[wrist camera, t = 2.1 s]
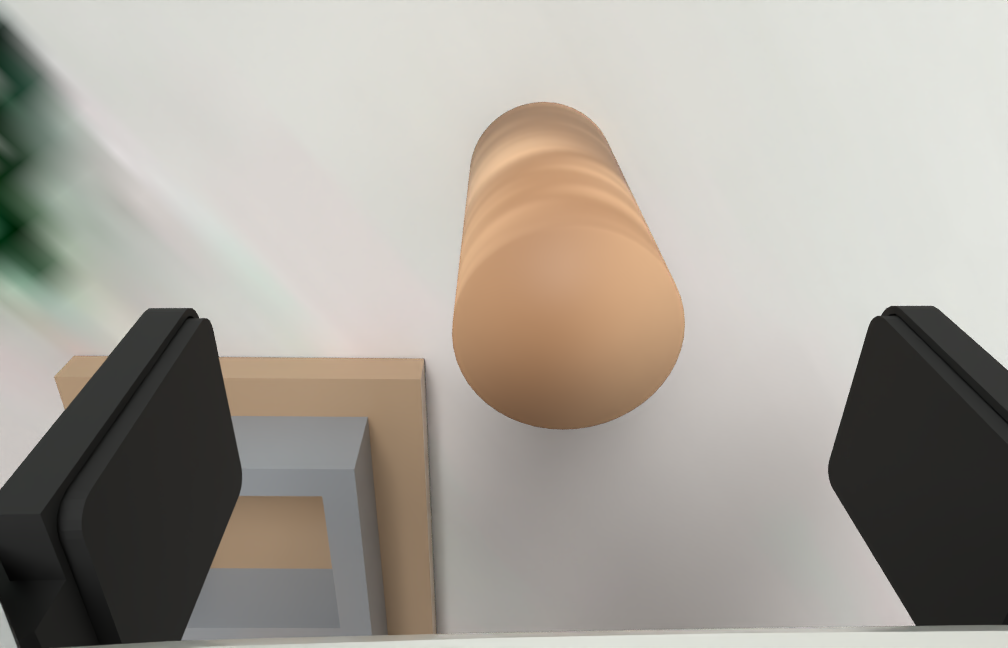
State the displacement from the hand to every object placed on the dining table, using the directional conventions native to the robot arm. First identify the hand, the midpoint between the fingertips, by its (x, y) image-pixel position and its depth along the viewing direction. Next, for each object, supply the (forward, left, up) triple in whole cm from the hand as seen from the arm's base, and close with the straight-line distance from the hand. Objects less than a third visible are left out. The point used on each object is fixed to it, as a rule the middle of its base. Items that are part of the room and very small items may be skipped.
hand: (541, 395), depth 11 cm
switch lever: (-1, 0, -11) cm, 11 cm away
